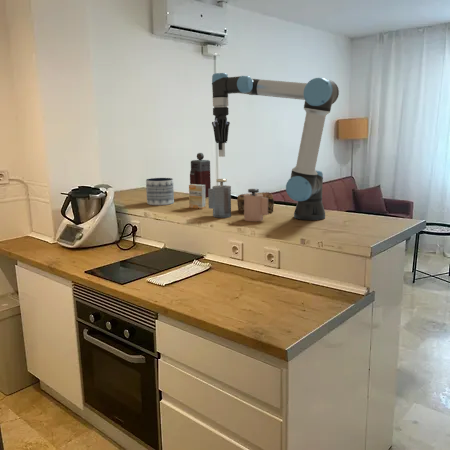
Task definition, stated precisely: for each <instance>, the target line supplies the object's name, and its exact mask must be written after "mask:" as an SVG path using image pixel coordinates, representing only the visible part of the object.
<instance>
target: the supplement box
mask: <svg viewBox="0 0 450 450" xmlns="http://www.w3.org/2000/svg"><path fill="white" fill-rule="evenodd" d="M188 203H189V204H188V205H189V206H188V207H189V209H198V208H199V209H200V210H201V209H202V210H203V209H205V208H206V207H207V206H206V204H207V203H206V198H205V185H198V184H191V185H190V184H188Z"/></svg>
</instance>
